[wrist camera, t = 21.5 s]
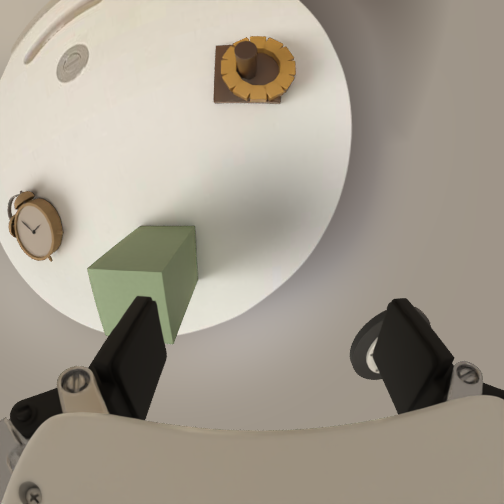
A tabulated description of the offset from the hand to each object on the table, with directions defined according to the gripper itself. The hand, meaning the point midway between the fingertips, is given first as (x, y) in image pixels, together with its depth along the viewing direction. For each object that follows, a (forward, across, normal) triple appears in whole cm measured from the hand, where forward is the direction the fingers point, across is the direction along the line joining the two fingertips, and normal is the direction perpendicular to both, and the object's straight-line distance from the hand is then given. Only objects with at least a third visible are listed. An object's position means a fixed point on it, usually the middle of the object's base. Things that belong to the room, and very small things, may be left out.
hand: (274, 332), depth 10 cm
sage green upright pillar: (+30, +14, +9) cm, 35 cm away
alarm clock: (+31, +42, +3) cm, 52 cm away
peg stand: (+30, +2, -18) cm, 35 cm away
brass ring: (+28, +1, -18) cm, 34 cm away
